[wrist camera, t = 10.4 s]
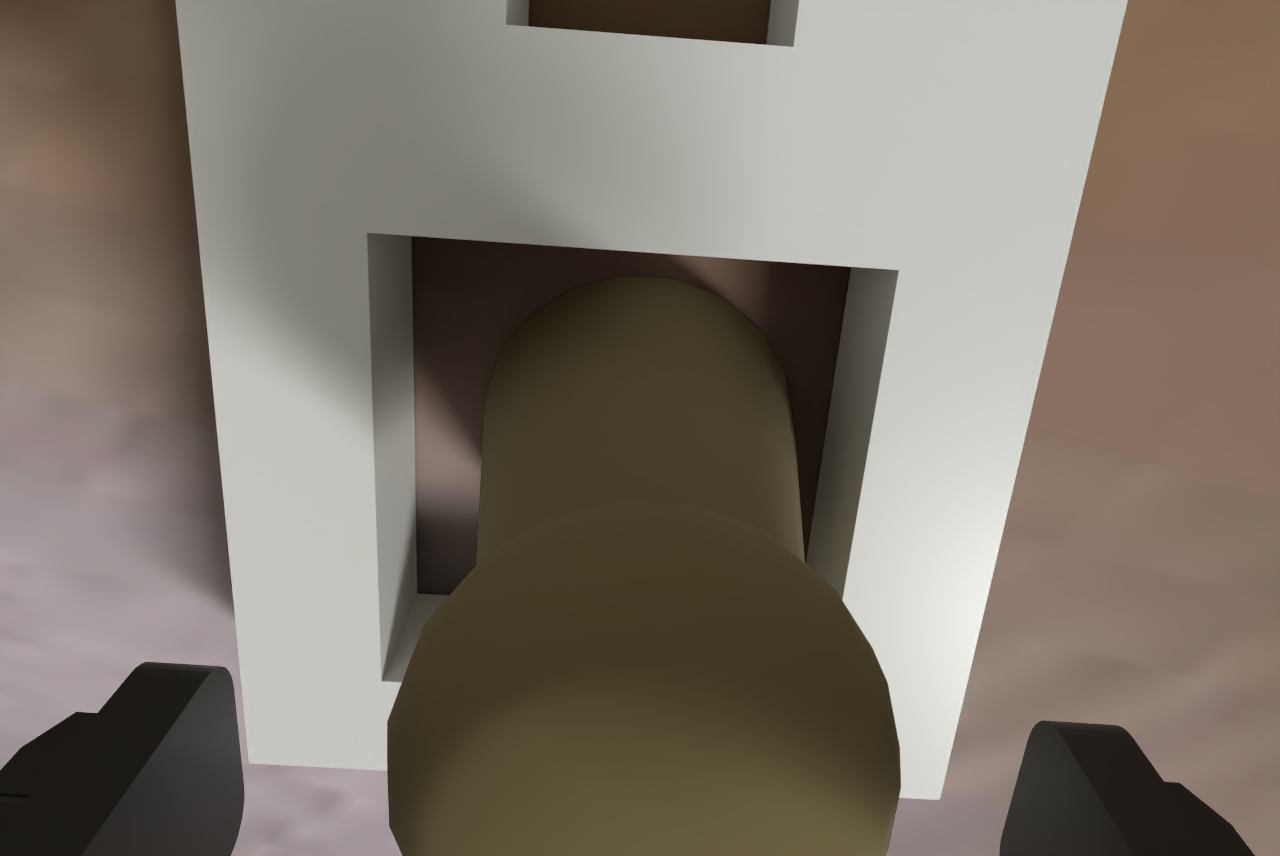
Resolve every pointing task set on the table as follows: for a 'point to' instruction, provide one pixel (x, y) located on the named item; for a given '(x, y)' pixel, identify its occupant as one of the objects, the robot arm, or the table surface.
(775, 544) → the olive knobbed peg
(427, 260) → the table surface
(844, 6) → the socket board
